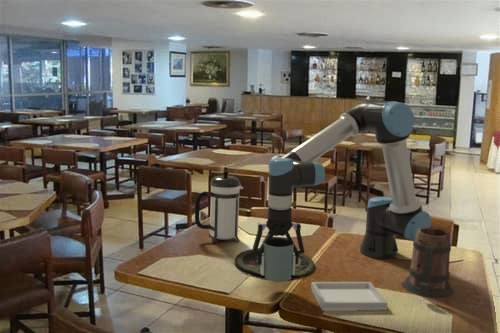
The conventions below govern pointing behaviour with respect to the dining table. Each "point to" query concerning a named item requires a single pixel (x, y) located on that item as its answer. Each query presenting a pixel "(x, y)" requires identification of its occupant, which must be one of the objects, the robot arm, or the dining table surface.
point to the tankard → (430, 264)
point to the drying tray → (348, 296)
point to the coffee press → (222, 207)
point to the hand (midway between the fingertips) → (277, 273)
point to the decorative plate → (250, 266)
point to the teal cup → (278, 259)
